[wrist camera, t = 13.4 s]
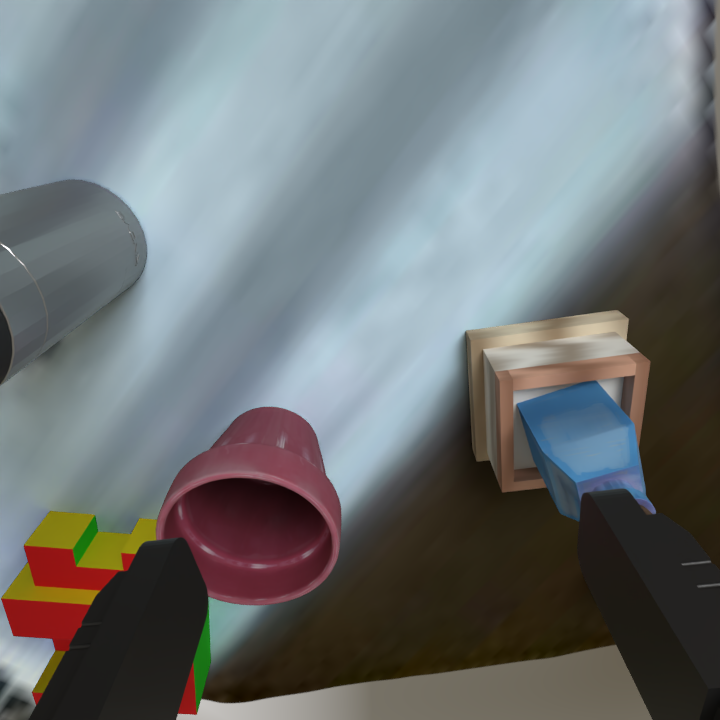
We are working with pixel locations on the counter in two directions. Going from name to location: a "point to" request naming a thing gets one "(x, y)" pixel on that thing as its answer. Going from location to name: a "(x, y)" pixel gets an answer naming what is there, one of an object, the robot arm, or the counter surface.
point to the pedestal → (545, 381)
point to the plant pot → (257, 510)
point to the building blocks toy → (80, 588)
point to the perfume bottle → (583, 445)
